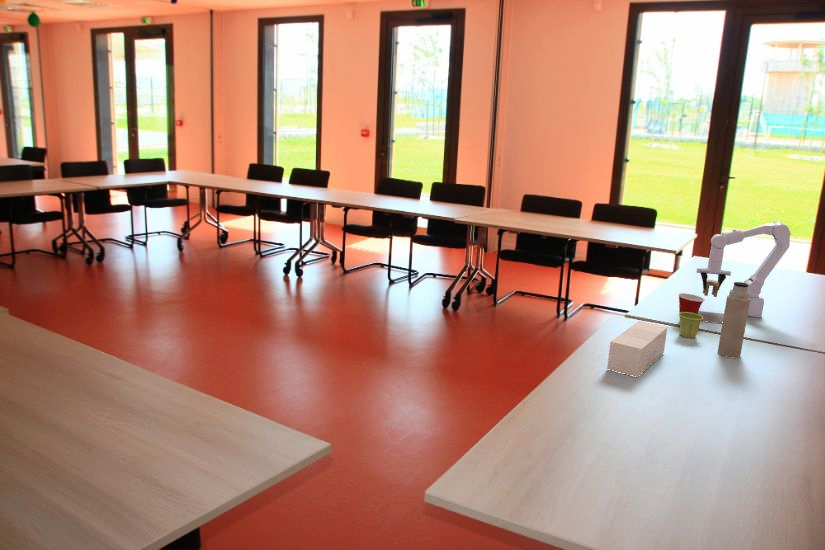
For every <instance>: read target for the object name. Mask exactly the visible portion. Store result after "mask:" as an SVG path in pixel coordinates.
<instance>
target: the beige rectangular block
mask: <svg viewBox="0 0 825 550" xmlns="http://www.w3.org/2000/svg"><path fill="white" fill-rule="evenodd" d="M667 333H668V326H664V325H660V324H654V323H650V322H646V321H641V320H638V321H637V322H635V323H634V324H632V326H630V327H629V328H627V329H626V330H625V331H623V332H621V333H620V334H619V335H618V336H616V337H615V338H613V339H612V340H611V341H610V342H609V350H608V358H607V365H606V370H607V369H610V370H614V371H617V372H621V373H625V374H628V375H633V376H636V377H638V376H639V375H640V374H641V373H642V372H644V371H645V370H646V369H647V368H648V367H649V366H650V365H651V364H652V363H653V364H654V363H655V362H657V361H658V360H657V359H658V358H659V357H660V356H661V355H662V354H663V353H664V354H665V348H666V340H667ZM664 354H663V355H664ZM663 355H662V356H663ZM662 356H661V357H662ZM661 357H660V358H661ZM660 358H659V359H660ZM653 364H652V365H653ZM652 365H651V366H652ZM651 366H650V367H651ZM650 367H649V368H650ZM649 368H648V369H649ZM648 369H647V370H648ZM647 370H646V371H647ZM646 371H645V372H646ZM645 372H644V373H645ZM640 376H641V375H640ZM640 376H639V377H640ZM639 377H638V378H639Z"/></svg>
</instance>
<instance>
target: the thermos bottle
mask: <svg viewBox="0 0 825 550" xmlns="http://www.w3.org/2000/svg"><path fill="white" fill-rule="evenodd" d="M747 287H748V284H746V283H744V282H742V281H734V282H733V287H732V289H730V290H729V294H728V295H727V296H726V301H725V307H724V311H723V314H724V317H723V323H722V324H721V328H720V329H721V330H720V336H719V340H718V348H717V353H718V354H719V355H720V356H722V355H723V356H722V357H725V356H727V357H726V358H730V357H738V358H740V357H741V354H742V349H743V344H744V336H745V332H746V328H747V327H746V326H747V322H748V321H747V319H748V317H749V316H748V310H749V304H750V299H749V293H748V292H747V289H748V288H747Z"/></svg>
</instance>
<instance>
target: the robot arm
mask: <svg viewBox="0 0 825 550" xmlns="http://www.w3.org/2000/svg"><path fill="white" fill-rule="evenodd" d="M720 233H721V234H719V233H717V234H714V235H713V236H712V237H711V239H710V244H711V246H710V251H709V257H708V261H707V262H708V264H707V267H706V268H705V267H704V268H703V267H700V268H699V267H697V268H696V271H695V272H696V273H697V274H699V275H700V276H701V280H702V290H703V289H706V281H707V280H708V277H709V275H717V281H718V282H719V288H718V291H720V288H721V286H722V284H723V282H724V281H725V280H726V279H727V276H728V277H731V275H732V272H731V271H730V270H725V269H722V264H723V258H724V249H725V247H727V246H730V245H734V244H738V243H741V242H743V241H744V240H745V239H746V238H749V237H750V238H751V237H754V236H758V235H767V236H772V237H773V239H774V242H775V245H774V246H773V248H772V249H771V250H770V252H769V253H768V254H767V256H766V257H765V259H764V260H763V262H762V263H761V264H760V266H759V267H758V268H757V269H756V271H755V272H754V273H753V274H752V275H750V276H749V278H748V279H745V280H744V281H743V283H746V284H748V287H747V288H748V289H747V292H748V293H749V299H750V304H749V310H748V316H747V317H753V318H754V317H755V318H762V317H763V312H764V311H763V310H764V305H765V298H764V297H763V296H760V294H761V293H762V292H761V291H762V288H763V287H764V285H765V282H766V281H765V280H766V279H767V278H768V276H770V274H771V272H772V271H773V269H775V267H776V266H777V264H778V263H779V261H780V260H781V259H782V257H783V256H784V255H785V254H786V253H787V251H788V249H789V248H790V240H791V234H792V233H791V230H790V228H789V227H788V226H787V225H786V224H784V223H783V222H781V221H774V222H767V223H764V224H760V225H758V226H754V227H751V228H748V229H745V230H741V229H736V228H734V229H732V230H731V231H727V232H720ZM708 274H709V275H708Z"/></svg>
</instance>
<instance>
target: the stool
mask: <svg viewBox="0 0 825 550" xmlns="http://www.w3.org/2000/svg"><path fill="white" fill-rule="evenodd" d="M710 287H712V290H711V295H712V296H713V297H714V298H717V296H718V293H719V290H718V288H719V282H718V280H713V279H707V281H706V289H703V288H702V294H704V296H705V297H707V296H708V295H709V291H710ZM719 289H720V288H719Z"/></svg>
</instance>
